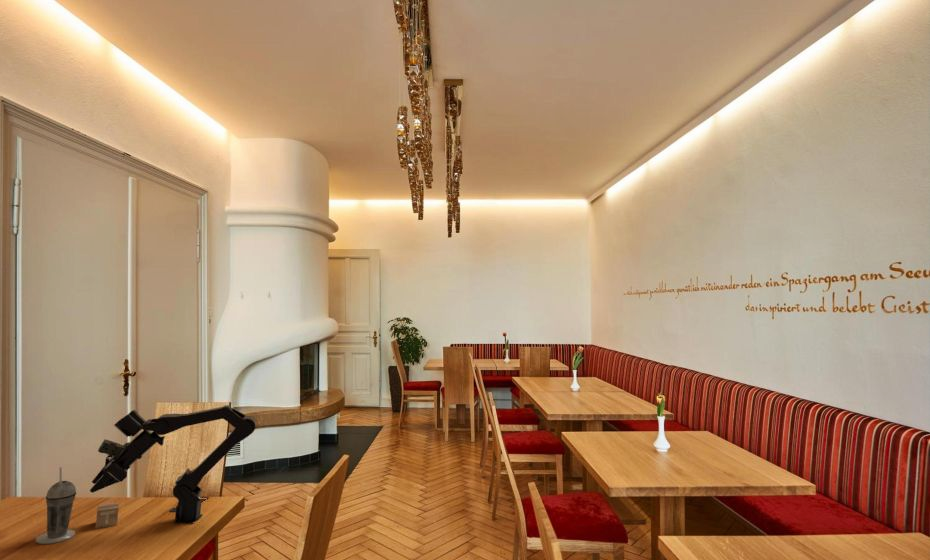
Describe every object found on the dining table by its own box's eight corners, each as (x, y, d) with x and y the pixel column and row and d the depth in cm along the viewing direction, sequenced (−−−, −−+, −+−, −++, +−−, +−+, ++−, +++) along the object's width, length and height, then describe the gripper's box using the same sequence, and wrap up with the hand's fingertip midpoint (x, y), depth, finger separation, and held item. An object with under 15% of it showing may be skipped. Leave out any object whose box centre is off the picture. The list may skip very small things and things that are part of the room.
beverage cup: (78, 531, 151) (85, 463, 153) (57, 541, 144) (64, 470, 146) (57, 529, 152) (64, 462, 154) (34, 539, 145) (41, 469, 147)
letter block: (96, 522, 160) (98, 504, 160) (117, 519, 163) (118, 502, 163) (95, 529, 155) (97, 510, 155) (116, 525, 158) (118, 507, 158)
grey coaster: (82, 531, 153) (82, 529, 153) (60, 544, 144) (60, 542, 144) (51, 531, 152) (51, 529, 152) (27, 544, 143) (27, 542, 143)
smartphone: (167, 511, 170) (191, 495, 185) (167, 513, 170) (191, 497, 185) (189, 511, 170) (210, 496, 185) (188, 513, 170) (210, 498, 185)
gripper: (119, 424, 165) (73, 462, 158) (117, 436, 150) (67, 479, 143) (144, 446, 169) (101, 484, 162) (145, 460, 153) (98, 503, 146)
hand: (91, 487), depth 153 cm, fingers open, 9 cm apart
